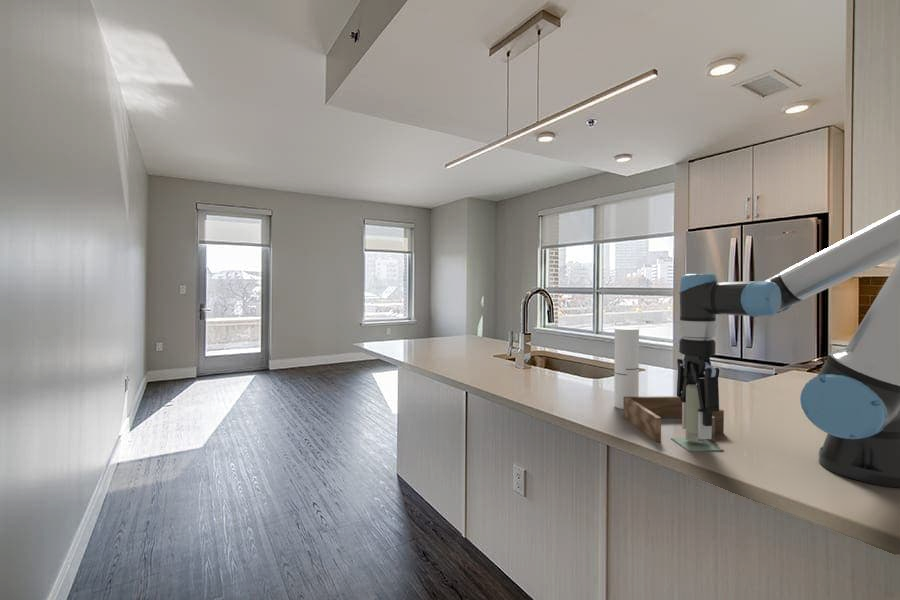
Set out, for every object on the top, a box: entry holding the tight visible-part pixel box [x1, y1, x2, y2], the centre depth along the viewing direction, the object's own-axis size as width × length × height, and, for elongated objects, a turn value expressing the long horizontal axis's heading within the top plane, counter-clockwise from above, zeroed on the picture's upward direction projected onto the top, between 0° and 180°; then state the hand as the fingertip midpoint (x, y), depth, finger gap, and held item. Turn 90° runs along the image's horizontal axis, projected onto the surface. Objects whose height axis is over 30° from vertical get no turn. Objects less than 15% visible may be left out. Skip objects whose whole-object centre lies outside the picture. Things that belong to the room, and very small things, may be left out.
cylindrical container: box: [613, 327, 640, 410], centre depth 135 cm, size 7×7×25 cm
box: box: [685, 384, 707, 443], centre depth 102 cm, size 5×4×13 cm
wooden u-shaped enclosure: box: [623, 395, 725, 443], centre depth 114 cm, size 20×20×6 cm
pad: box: [670, 437, 724, 452], centre depth 102 cm, size 8×8×1 cm
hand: (696, 433), depth 102 cm, fingers closed on box, 6 cm apart
